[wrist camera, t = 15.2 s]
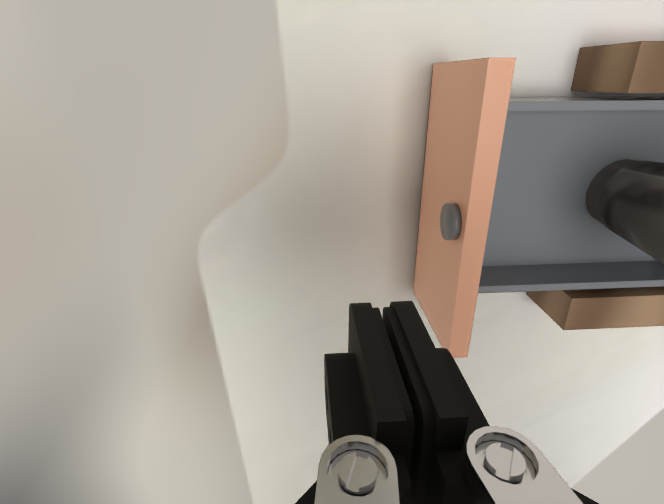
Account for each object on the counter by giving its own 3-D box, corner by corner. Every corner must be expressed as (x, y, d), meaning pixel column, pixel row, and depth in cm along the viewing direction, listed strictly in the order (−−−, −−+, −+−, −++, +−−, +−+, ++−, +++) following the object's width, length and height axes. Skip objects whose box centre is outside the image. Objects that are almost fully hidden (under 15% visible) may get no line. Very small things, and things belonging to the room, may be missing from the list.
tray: (407, 292, 31) (439, 358, 24) (425, 63, 25) (477, 57, 17) (643, 283, 32) (743, 344, 25) (719, 63, 26) (884, 57, 18)
